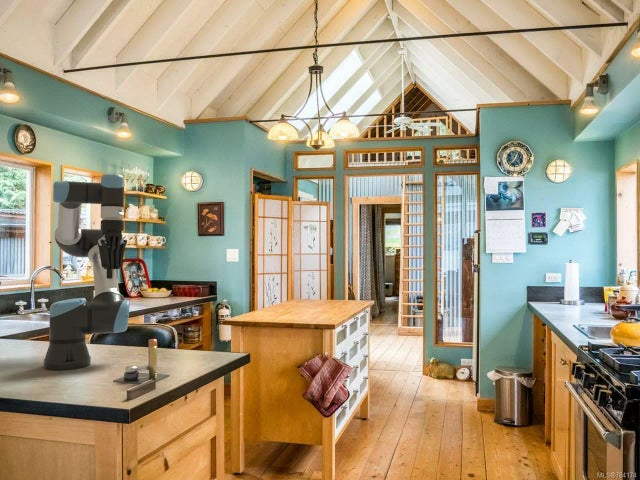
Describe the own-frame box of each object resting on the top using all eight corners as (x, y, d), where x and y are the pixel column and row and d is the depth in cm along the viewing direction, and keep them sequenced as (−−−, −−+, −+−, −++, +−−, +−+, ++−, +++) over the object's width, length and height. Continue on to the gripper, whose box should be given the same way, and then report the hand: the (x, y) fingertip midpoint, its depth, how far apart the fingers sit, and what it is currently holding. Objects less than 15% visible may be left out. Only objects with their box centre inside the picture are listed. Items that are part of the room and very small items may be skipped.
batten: (126, 399, 150) (126, 389, 150) (150, 388, 161) (150, 379, 161) (131, 399, 149) (131, 390, 149) (155, 388, 161) (155, 379, 161)
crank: (126, 373, 169) (126, 342, 169) (124, 371, 172) (124, 341, 172) (158, 370, 173) (158, 340, 174) (155, 367, 177) (155, 338, 177)
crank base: (113, 381, 169) (113, 348, 169) (134, 373, 180) (134, 342, 181) (150, 384, 166) (150, 350, 166) (169, 375, 177) (170, 343, 177)
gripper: (107, 218, 180) (107, 289, 180) (133, 220, 192) (133, 287, 192) (89, 218, 183) (89, 289, 182) (116, 220, 195) (116, 286, 195)
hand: (111, 288), depth 187 cm, fingers closed
